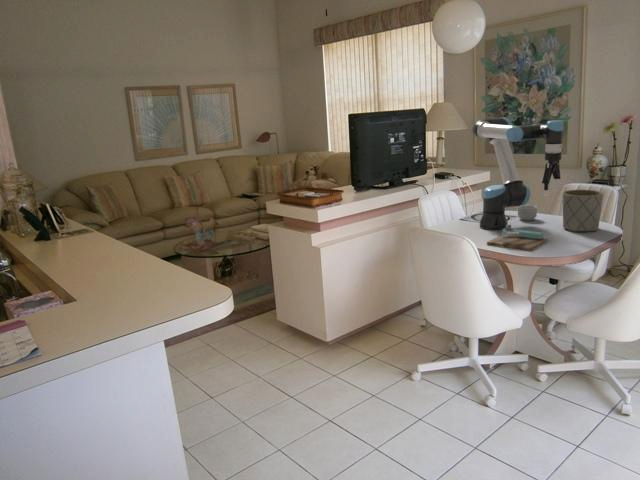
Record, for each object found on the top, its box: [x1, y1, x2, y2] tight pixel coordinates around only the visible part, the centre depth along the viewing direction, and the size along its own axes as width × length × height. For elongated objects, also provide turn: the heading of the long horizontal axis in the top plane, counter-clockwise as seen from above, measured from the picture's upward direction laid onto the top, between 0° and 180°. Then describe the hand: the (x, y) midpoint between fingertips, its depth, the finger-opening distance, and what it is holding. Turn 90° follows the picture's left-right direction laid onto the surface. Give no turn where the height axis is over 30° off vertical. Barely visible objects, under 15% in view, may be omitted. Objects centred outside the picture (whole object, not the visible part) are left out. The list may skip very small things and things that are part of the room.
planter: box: [562, 189, 604, 233], centre depth 266 cm, size 19×19×20 cm
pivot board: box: [486, 224, 549, 252], centre depth 250 cm, size 22×21×7 cm
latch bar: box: [501, 227, 544, 239], centre depth 256 cm, size 20×6×2 cm, turn 45°
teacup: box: [516, 204, 538, 221], centre depth 297 cm, size 14×11×8 cm
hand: (550, 193), depth 255 cm, fingers open, 13 cm apart
